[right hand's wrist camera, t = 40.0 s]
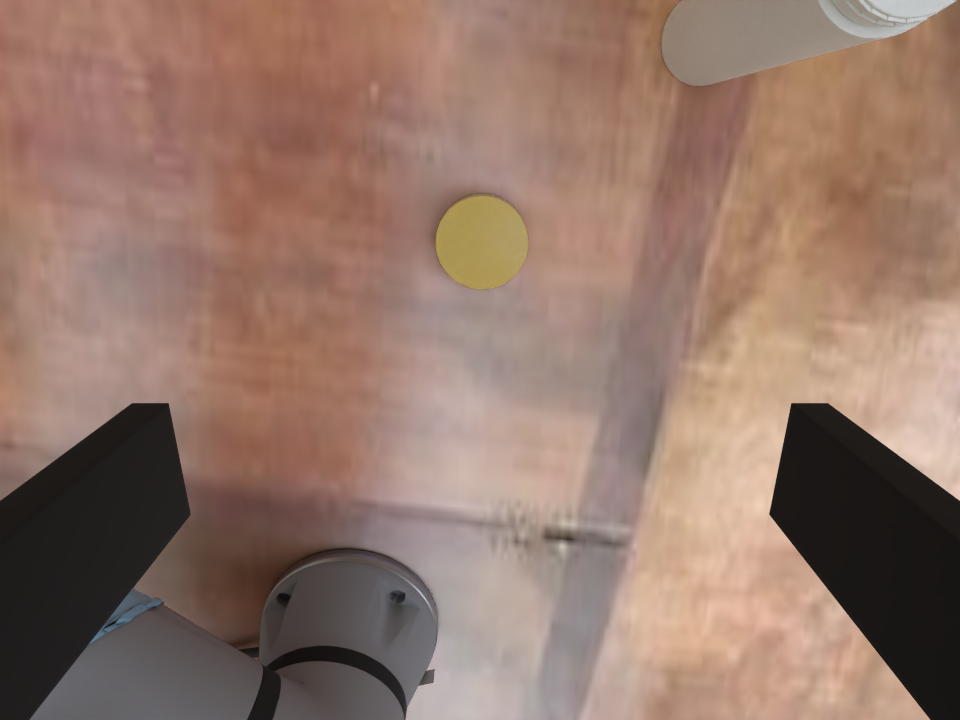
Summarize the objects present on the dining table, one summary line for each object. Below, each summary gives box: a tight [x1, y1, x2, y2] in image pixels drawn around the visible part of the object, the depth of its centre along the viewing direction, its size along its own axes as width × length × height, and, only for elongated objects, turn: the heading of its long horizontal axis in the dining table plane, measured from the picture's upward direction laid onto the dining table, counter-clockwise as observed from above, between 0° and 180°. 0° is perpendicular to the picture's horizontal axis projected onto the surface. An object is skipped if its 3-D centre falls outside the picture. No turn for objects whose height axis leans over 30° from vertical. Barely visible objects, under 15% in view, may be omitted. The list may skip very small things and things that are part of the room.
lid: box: [435, 193, 529, 289], centre depth 40 cm, size 6×6×2 cm
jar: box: [661, 0, 957, 86], centre depth 28 cm, size 5×5×20 cm
